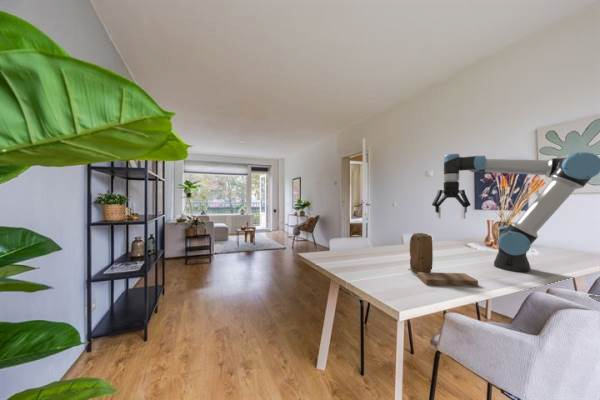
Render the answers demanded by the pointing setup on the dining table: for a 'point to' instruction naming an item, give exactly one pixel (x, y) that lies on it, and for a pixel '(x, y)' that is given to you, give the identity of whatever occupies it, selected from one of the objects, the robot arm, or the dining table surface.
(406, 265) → the dining table surface
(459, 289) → the dining table surface
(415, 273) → the end pad
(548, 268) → the dining table surface
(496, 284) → the dining table surface
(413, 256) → the block
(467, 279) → the board
